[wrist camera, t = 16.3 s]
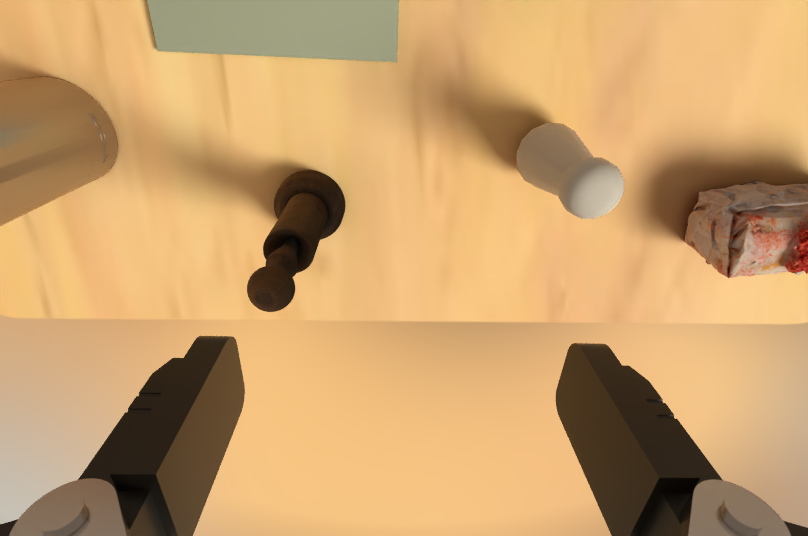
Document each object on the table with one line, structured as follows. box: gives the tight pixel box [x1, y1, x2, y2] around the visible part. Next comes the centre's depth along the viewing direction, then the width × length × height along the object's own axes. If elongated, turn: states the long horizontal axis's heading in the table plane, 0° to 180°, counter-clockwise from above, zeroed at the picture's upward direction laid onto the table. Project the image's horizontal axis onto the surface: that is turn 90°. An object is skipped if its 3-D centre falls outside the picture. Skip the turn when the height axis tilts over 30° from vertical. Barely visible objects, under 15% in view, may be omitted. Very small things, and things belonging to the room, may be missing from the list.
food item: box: [684, 181, 808, 278], centre depth 40 cm, size 14×8×10 cm, turn 96°
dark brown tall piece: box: [247, 171, 345, 312], centre depth 35 cm, size 7×6×18 cm
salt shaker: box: [516, 123, 624, 219], centre depth 35 cm, size 6×6×13 cm
